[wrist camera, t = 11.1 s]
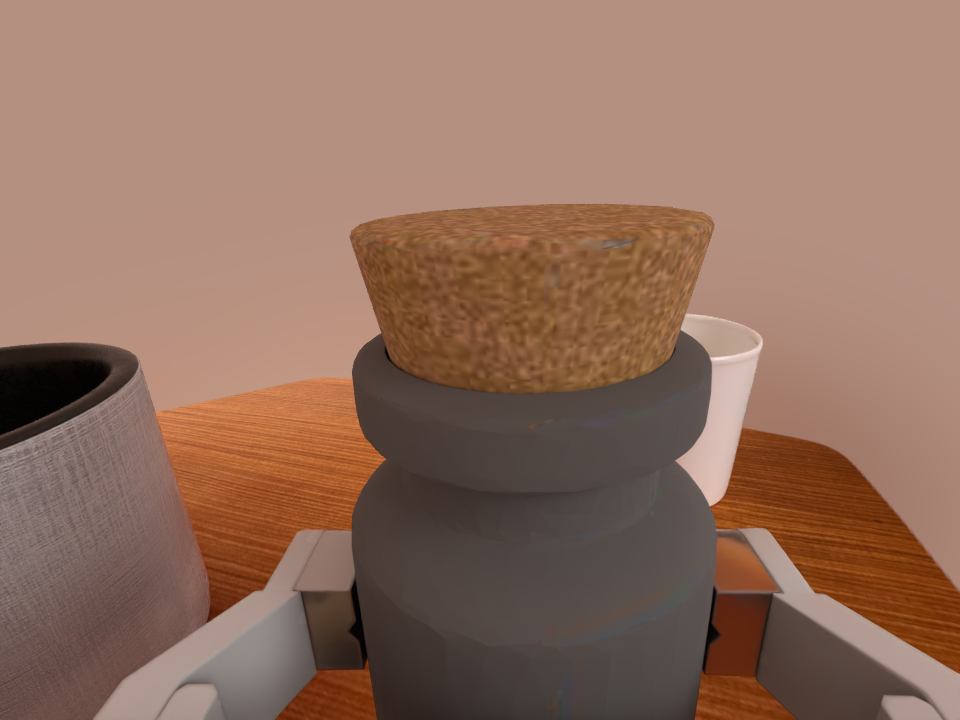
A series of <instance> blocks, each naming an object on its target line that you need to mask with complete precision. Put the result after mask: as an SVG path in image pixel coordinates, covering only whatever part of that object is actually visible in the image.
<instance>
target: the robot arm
mask: <svg viewBox="0 0 960 720" xmlns="http://www.w3.org/2000/svg"><path fill="white" fill-rule="evenodd" d="M716 533H717V554H716V569H715V577H714V585H713V593H712V602H711V610H710V617H709V623H708V630H707V637H706V644H705V651H704V658H703V665H702V669H703V672H704V674H705V675H724V676H748V677H756V680H757V681H758V682H759V683H760V684H761V685H762V686H763V687H764V688H765V689H766V690H767V691H768V692H769V693H770V694H771V695H772V696H773V697H775V698H776V699H777V700H778V701H779V702H780V703H781V704H782V705H783V706H784V707H785V708H786V709H787V710H788V711H789V712H790V713H791V714H792V715H793V716H794V717H795V718H796V719H797V720H960V674H958V673H956V672H955V671H953V670H951V669H950V668H948V667H946V666H944V665H943V664H941V663H939V662H938V661H936V660H934V659H933V658H931V657H929V656H928V655H926V654H924V653H923V652H921V651H919V650H918V649H916V648H914V647H913V646H911V645H909V644H908V643H906V642H904V641H902V640H901V639H899V638H897V637H896V636H894V635H892V634H891V633H889V632H887V631H886V630H884V629H882V628H881V627H879V626H877V625H876V624H874V623H872V622H871V621H869V620H867V619H866V618H864V617H862V616H860V615H859V614H857V613H855V612H854V611H852V610H850V609H849V608H847V607H845V606H844V605H842V604H840V603H839V602H837V601H835V600H834V599H832V598H830V597H829V596H827V595H825V594H815V593H814V591H813V590H812V589H811V587H810V586H809V585H808V583H807V582H806V581H805V579H804V578H803V576H802V575H801V574H800V572H799V571H798V570H797V568H796V567H795V566H794V564H793V563H792V562H791V560H790V559H789V557H788V556H787V555H786V553H785V552H784V551H783V549H782V548H781V547H780V545H779V544H778V543H777V541H776V540H775V539H774V537H773V536H772V534H771V533H770V532H769V531H768V530H766V529H764V528H749V529H736V530H716ZM367 657H368V656H367V650H366V643H365V637H364V630H363V624H362V617H361V611H360V604H359V598H358V591H357V585H356V577H355V569H354V562H353V554H352V530H329V529H327V530H308V529H302V530H301V531H299V532H298V533H297V534H296V535H295V536H294V538H293V540H292V542H291V543H290V545H289V547H288V548H287V550H286V552H285V554H284V555H283V557H282V559H281V560H280V562H279V564H278V566H277V567H276V569H275V571H274V572H273V574H272V576H271V578H270V579H269V581H268V583H267V584H266V586H265V588H264V590H263V591H254V592H253V593H251V594H250V595H248V596H247V597H245V598H244V599H242V600H241V601H239V602H238V603H236V604H235V605H233V606H232V607H230V608H229V609H227V610H226V611H224V612H223V613H221V614H220V615H219V616H217V617H216V618H214V619H213V620H211V621H210V622H208V623H207V624H205V625H204V626H202V627H201V628H199V629H198V630H196V631H195V632H193V633H192V634H190V635H189V636H187V637H186V638H184V639H183V640H181V641H180V642H178V643H177V644H175V645H174V646H172V647H171V648H169V649H168V650H166V651H165V652H163V653H162V654H160V655H159V656H158V657H156V658H155V659H153V660H152V661H150V662H149V663H147V664H146V665H144V666H143V667H141V668H140V669H138V670H137V671H135V672H134V673H132V674H131V675H129V676H128V677H126V678H125V679H123V680H122V682H121V683H120V684H119V686H118V687H117V688H116V689H115V691H114V692H113V693H112V695H111V696H110V697H109V699H108V700H107V701H106V703H105V704H104V705H103V707H102V708H101V709H100V711H99V712H98V713H97V715H96V716H95V717H94V719H93V720H274V719H275V718H276V717H277V716H278V715H279V714H280V713H281V712H282V711H283V710H284V709H285V708H286V707H287V705H288V704H289V703H290V702H291V701H292V700H293V699H294V698H295V697H296V696H297V695H298V694H299V693H300V691H301V690H302V689H303V688H304V687H305V686H306V685H307V684H308V683H309V682H310V681H311V680H312V678H313V677H314V676H315V675H316V674H317V670H364V668H365V664H366V661H367Z"/></svg>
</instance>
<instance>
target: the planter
mask: <svg viewBox="0 0 960 720" xmlns="http://www.w3.org/2000/svg"><path fill="white" fill-rule="evenodd" d="M209 609H210V589H209V580H208V575H207V571H206V567H205V564H204V561H203V558H202V555H201V551H200V548H199V545H198V542H197V539H196V536H195V533H194V530H193V527H192V524H191V521H190V518H189V515H188V512H187V509H186V506H185V503H184V500H183V497H182V494H181V491H180V488H179V484H178V481H177V478H176V475H175V472H174V469H173V466H172V463H171V460H170V457H169V454H168V451H167V447H166V444H165V441H164V438H163V435H162V432H161V429H160V425H159V422H158V419H157V416H156V413H155V410H154V406H153V403H152V400H151V397H150V393H149V390H148V387H147V384H146V381H145V377H144V374H143V371H142V368H141V364H140V361H139V360H138V358H137V357H136V356H135V355H134V354H132V353H131V352H129V351H127V350H125V349H122V348H118V347H114V346H109V345H103V344H95V343H44V344H31V345H20V346H11V347H2V348H0V720H93V719H94V717H95V716H96V715H97V713H98V712H99V711H100V709H101V708H102V707H103V705H104V704H105V703H106V701H107V700H108V699H109V697H110V696H111V695H112V693H113V692H114V691H115V689H116V688H117V687H118V686H119V684H120V683H121V682H122V680H123V679H125V678H126V677H128V676H129V675H131V674H132V673H134V672H135V671H137V670H138V669H140V668H141V667H143V666H144V665H146V664H147V663H149V662H150V661H152V660H153V659H155V658H156V657H158V656H159V655H160V654H162V653H163V652H165V651H166V650H168V649H169V648H171V647H172V646H174V645H175V644H177V643H178V642H180V641H181V640H183V639H184V638H186V637H187V636H189V635H190V634H192V633H193V632H195V631H196V630H198V629H199V628H201V627H202V626H204V625H205V624H206V622H207V619H208V615H209Z"/></svg>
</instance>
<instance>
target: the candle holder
mask: <svg viewBox="0 0 960 720" xmlns="http://www.w3.org/2000/svg"><path fill="white" fill-rule="evenodd" d="M680 330H682V331H683V332H685V333H687V334H688V335H690V336H692V337H693V338H694V339H695V340H697V341H698V342H699V343H700V344H701V345H702V346H703V347H704V348H705V350H706V351H707V352H708V354H709V356H710V359H711V361H712V386H711V397H710V403H709V409H708V415H707V421H706V425H705V428H704V430H703V432H702V434H701V436H700V437H699V439H698V440H697V441H696V443H695V444H694V446H693V447H692V448H691V449H690V450H689V451H688V452H687V453H685V454H684V455H682V456H681V457H680V458H678V459H677V460H675V461H676V462H677V463H678V464H679V465H680V466H681V467H682V468H684V469H685V470H686V471H687V472H688V473H689V475H690V476H691V477H692V479H693V480H694V481H695V483H696V484H697V485H698V487H699V488H700V489H701V491H702V493H703V494H704V496H705V498H706V500H707V501H708V503H709V506H712V505H714V504H716V503H717V502H719V501H720V500H721V499H722V498H723V496H724V495H725V493H726V490H727V487H728V484H729V480H730V476H731V472H732V468H733V464H734V460H735V456H736V452H737V448H738V443H739V439H740V435H741V431H742V426H743V422H744V418H745V414H746V409H747V405H748V401H749V397H750V392H751V388H752V384H753V380H754V375H755V371H756V367H757V363H758V359H759V355H760V352H761V350H762V347H763V340H762V337H761V336H760V335H759V334H758V333H757V332H755V331H754V330H752V329H751V328H749V327H747V326H744V325H742V324H739V323H736V322H733V321H729V320H725V319H720V318H716V317H710V316H703V315H695V314H685V317H684V320H683V323H682V326H681V329H680Z"/></svg>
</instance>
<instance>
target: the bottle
mask: <svg viewBox="0 0 960 720" xmlns="http://www.w3.org/2000/svg"><path fill="white" fill-rule="evenodd" d="M713 230H714V223H713V220H712V218H711V217H710V216H708V215H706V214H704V213H702V212H696V211H689V210H684V209H678V208H672V207H660V206H643V205H619V204H618V205H617V204H556V205H555V204H551V205H550V204H549V205H526V206H504V207H503V206H502V207H484V208H470V209H457V210H444V211H431V212H423V213H415V214H409V215H400V216H394V217H389V218H382V219H377V220H373V221H370V222H367V223H363V224H360V225H359V226H357V227H356V228H355V229H353V230H352V231H351V235H350V240H351V243H352V246H353V249H354V252H355V254H356V258H357V261H358V264H359V267H360V270H361V273H362V276H363V279H364V282H365V285H366V288H367V291H368V294H369V297H370V300H371V303H372V306H373V309H374V312H375V315H376V318H377V321H378V324H379V327H380V330H381V334H379V335H378V336H376V337H375V338H373V339H372V340H371V341H369V342H368V343H367V344H365V345H364V346H363V347H362V349H361V350H360V351H359V352H358V355H357V357H356V359H355V361H354V364H353V370H352V376H353V386H354V395H355V403H356V409H357V415H358V419H359V423H360V427H361V429H362V432H363V434H364V436H365V438H366V439H367V440H368V441H369V442H370V443H371V444H372V446H373V447H374V448H375V449H376V450H377V451H378V452H379V453H380V454H381V455H382V456H383V457H385V458H387V459H386V460H385V461H384V462H383V463H382V464H381V465H380V466H379V467H378V468H377V470H376V471H375V472H374V473H373V474H372V475H371V477H370V479H369V480H368V482H367V483H366V485H365V486H364V488H363V489H362V491H361V494H360V496H359V498H358V500H357V502H356V505H355V508H354V511H353V515H352V554H353V562H354V569H355V577H356V585H357V591H358V598H359V604H360V611H361V617H362V624H363V630H364V637H365V643H366V650H367V656H368V663H369V669H370V676H371V682H372V689H373V695H374V702H375V708H376V715H377V720H695V713H696V706H697V699H698V692H699V685H700V679H701V672H702V665H703V658H704V651H705V644H706V637H707V630H708V623H709V617H710V610H711V602H712V593H713V585H714V577H715V569H716V554H717V533H716V525H715V519H714V516H713V513H712V511H711V508H710V506H709V503H708V501H707V500H706V498H705V496H704V494H703V493H702V491H701V489H700V488H699V487H698V485H697V484H696V483H695V481H694V480H693V479H692V477H691V476H690V475H689V473H688V472H687V471H686V470H685V469H684V468H682V467H681V466H680V465H679V464H678V463H677V462H676V461H675V460H677V459H678V458H680V457H681V456H682V455H684V454H685V453H687V452H688V451H689V450H690V449H691V448H692V447H693V446H694V444H695V443H696V441H697V440H698V439H699V437H700V436H701V434H702V432H703V430H704V428H705V425H706V421H707V415H708V409H709V403H710V397H711V386H712V361H711V359H710V356H709V354H708V352H707V351H706V350H705V348H704V347H703V346H702V345H701V344H700V343H699V342H698V341H697V340H695V339H694V338H693V337H692V336H690V335H688V334H687V333H685V332H683V331H682V330H680V329H681V326H682V323H683V320H684V317H685V314H686V311H687V308H688V305H689V302H690V299H691V296H692V293H693V290H694V287H695V284H696V281H697V278H698V275H699V272H700V269H701V266H702V263H703V260H704V257H705V254H706V251H707V248H708V245H709V242H710V239H711V236H712V233H713Z"/></svg>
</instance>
